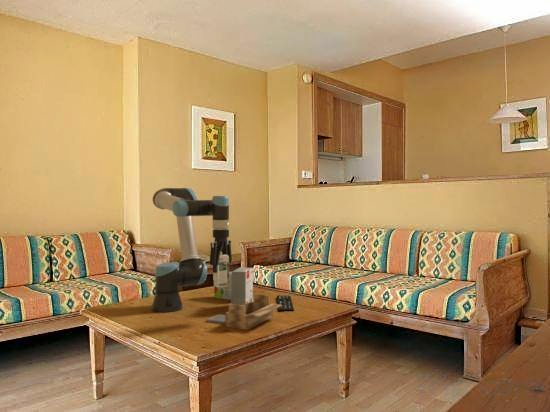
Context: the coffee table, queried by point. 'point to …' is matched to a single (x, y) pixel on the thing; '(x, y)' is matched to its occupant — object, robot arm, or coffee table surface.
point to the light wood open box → (250, 313)
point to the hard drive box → (242, 286)
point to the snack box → (223, 290)
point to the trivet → (217, 319)
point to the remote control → (285, 303)
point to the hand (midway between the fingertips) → (221, 278)
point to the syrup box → (223, 272)
